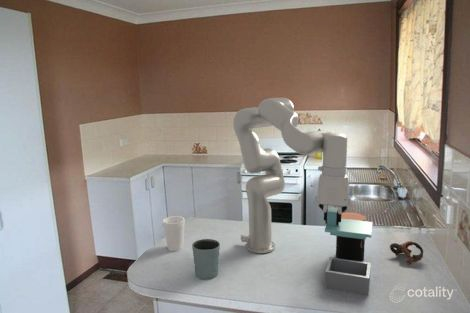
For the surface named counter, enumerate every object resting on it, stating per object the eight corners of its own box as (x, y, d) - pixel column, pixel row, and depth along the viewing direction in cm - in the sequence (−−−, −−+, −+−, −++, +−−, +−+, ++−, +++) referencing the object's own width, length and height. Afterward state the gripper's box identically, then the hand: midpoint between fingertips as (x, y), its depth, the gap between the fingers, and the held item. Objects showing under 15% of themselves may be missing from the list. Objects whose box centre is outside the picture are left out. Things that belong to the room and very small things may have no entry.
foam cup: (160, 251, 162) (158, 222, 160) (171, 242, 171) (169, 215, 168) (179, 254, 159) (177, 224, 156) (190, 245, 167) (188, 217, 165)
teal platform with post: (324, 236, 125) (325, 214, 123) (329, 223, 135) (329, 203, 134) (370, 242, 120) (372, 219, 118) (372, 228, 130) (373, 208, 129)
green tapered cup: (188, 273, 143) (187, 243, 141) (211, 264, 149) (209, 236, 147) (203, 283, 135) (201, 252, 133) (226, 274, 141) (225, 244, 139)
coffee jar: (365, 267, 144) (367, 222, 140) (336, 265, 146) (337, 221, 142) (362, 254, 154) (363, 212, 150) (335, 253, 156) (336, 211, 152)
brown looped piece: (417, 254, 154) (425, 242, 148) (417, 274, 147) (426, 262, 141) (386, 245, 156) (393, 233, 151) (385, 263, 149) (393, 251, 144)
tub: (324, 290, 129) (325, 271, 127) (329, 275, 139) (329, 257, 137) (368, 297, 124) (369, 278, 122) (369, 281, 134) (370, 263, 132)
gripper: (307, 171, 125) (306, 224, 128) (359, 175, 119) (356, 230, 123) (311, 166, 132) (310, 216, 135) (360, 170, 126) (358, 222, 129)
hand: (332, 222), depth 129 cm, fingers closed on teal platform with post, 3 cm apart
